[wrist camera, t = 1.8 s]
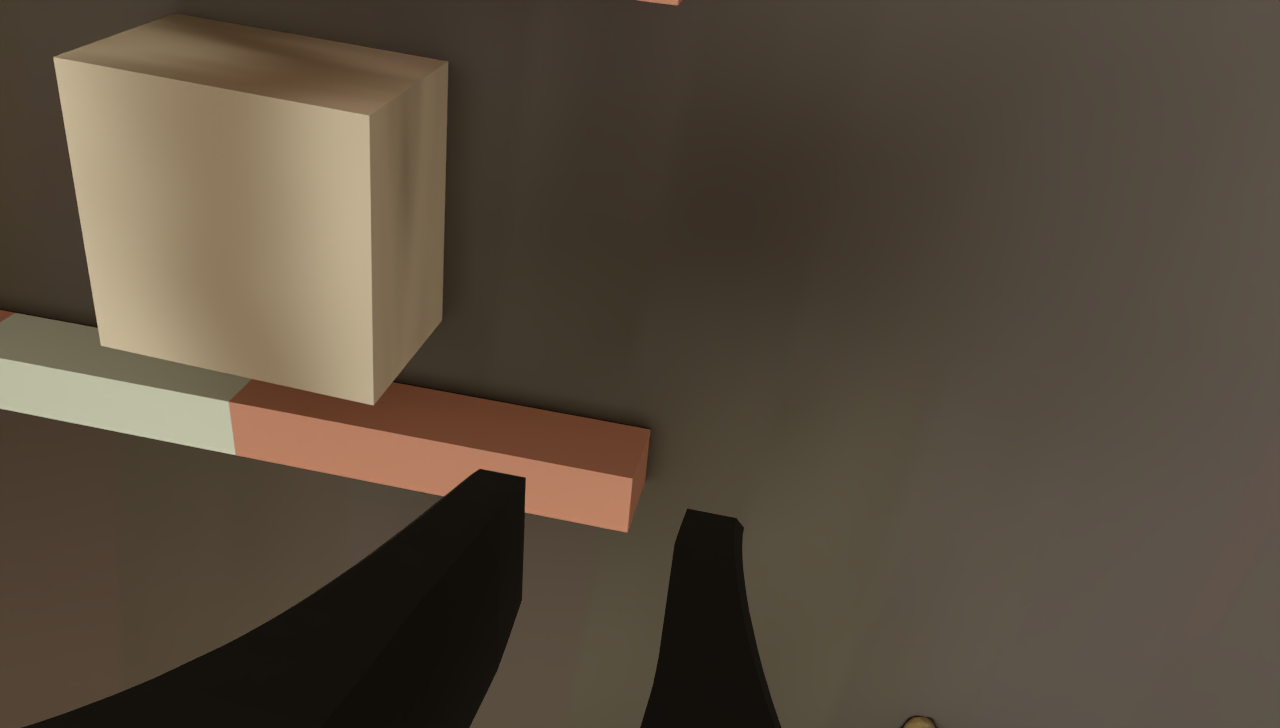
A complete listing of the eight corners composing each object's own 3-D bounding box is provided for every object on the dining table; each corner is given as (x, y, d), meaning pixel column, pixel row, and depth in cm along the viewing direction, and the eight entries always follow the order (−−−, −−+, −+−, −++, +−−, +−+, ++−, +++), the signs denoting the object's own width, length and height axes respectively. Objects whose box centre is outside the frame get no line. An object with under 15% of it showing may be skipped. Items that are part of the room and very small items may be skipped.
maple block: (206, 267, 26) (100, 345, 22) (180, 11, 23) (53, 57, 19) (445, 316, 25) (373, 405, 22) (451, 59, 22) (369, 115, 19)
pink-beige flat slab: (-58, 347, 28) (-119, 384, 27) (-216, -209, 22) (-310, -206, 20) (644, 481, 26) (627, 532, 24) (705, -103, 19) (687, -90, 18)
